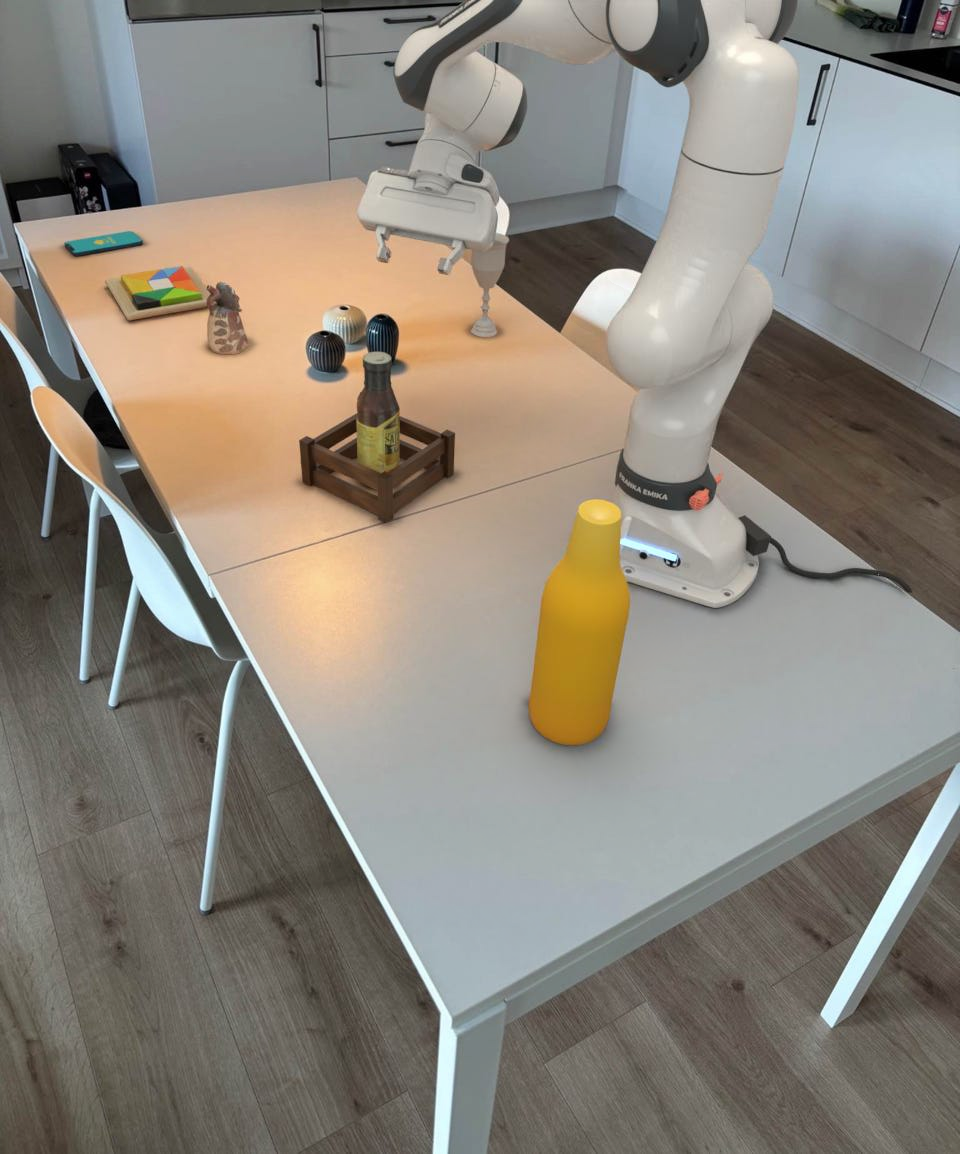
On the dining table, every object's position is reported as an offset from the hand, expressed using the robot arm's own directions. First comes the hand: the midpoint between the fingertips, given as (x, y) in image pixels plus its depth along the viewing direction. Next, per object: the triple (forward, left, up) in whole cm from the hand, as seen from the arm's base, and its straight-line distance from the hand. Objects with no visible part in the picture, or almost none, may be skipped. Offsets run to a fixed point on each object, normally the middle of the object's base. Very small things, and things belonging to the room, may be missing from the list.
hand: (412, 266), depth 138 cm
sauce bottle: (-3, +12, -29) cm, 31 cm away
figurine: (+46, -4, -29) cm, 54 cm away
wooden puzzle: (+71, -10, -29) cm, 77 cm away
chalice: (+14, -40, -29) cm, 51 cm away
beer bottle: (-51, +36, -29) cm, 69 cm away
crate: (-3, +12, -28) cm, 31 cm away
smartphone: (+101, -20, -29) cm, 107 cm away
